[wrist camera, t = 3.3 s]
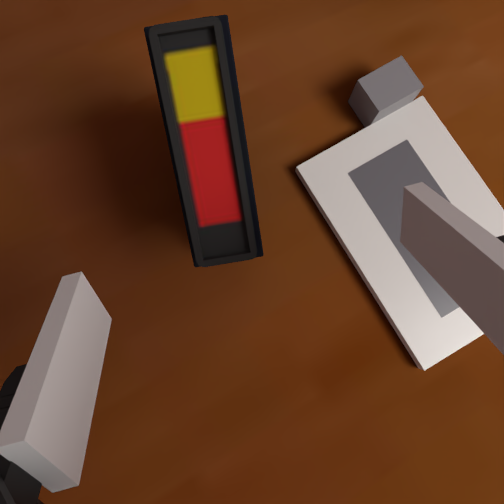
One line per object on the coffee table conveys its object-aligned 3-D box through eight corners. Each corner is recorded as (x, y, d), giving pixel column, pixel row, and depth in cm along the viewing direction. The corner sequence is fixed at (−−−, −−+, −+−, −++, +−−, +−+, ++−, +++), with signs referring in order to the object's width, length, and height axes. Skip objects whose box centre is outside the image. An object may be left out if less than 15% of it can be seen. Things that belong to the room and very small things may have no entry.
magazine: (228, 72, 29) (227, 3, 15) (252, 229, 33) (270, 295, 19) (182, 79, 29) (136, 18, 15) (212, 235, 33) (199, 307, 19)
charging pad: (276, 141, 30) (278, 123, 27) (397, 74, 31) (412, 49, 28) (418, 368, 27) (438, 375, 24) (547, 288, 28) (582, 286, 25)
